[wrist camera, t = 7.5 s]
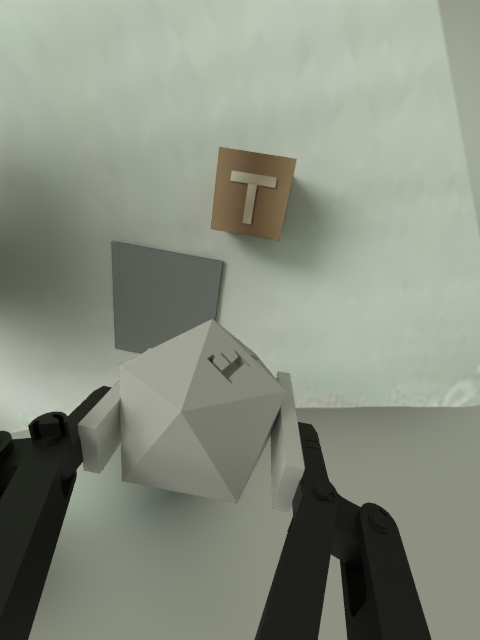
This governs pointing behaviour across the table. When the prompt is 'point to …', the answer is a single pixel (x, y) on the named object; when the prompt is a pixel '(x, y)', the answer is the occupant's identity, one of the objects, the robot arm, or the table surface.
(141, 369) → the die
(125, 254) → the grey mat
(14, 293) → the table surface
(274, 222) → the letter block
